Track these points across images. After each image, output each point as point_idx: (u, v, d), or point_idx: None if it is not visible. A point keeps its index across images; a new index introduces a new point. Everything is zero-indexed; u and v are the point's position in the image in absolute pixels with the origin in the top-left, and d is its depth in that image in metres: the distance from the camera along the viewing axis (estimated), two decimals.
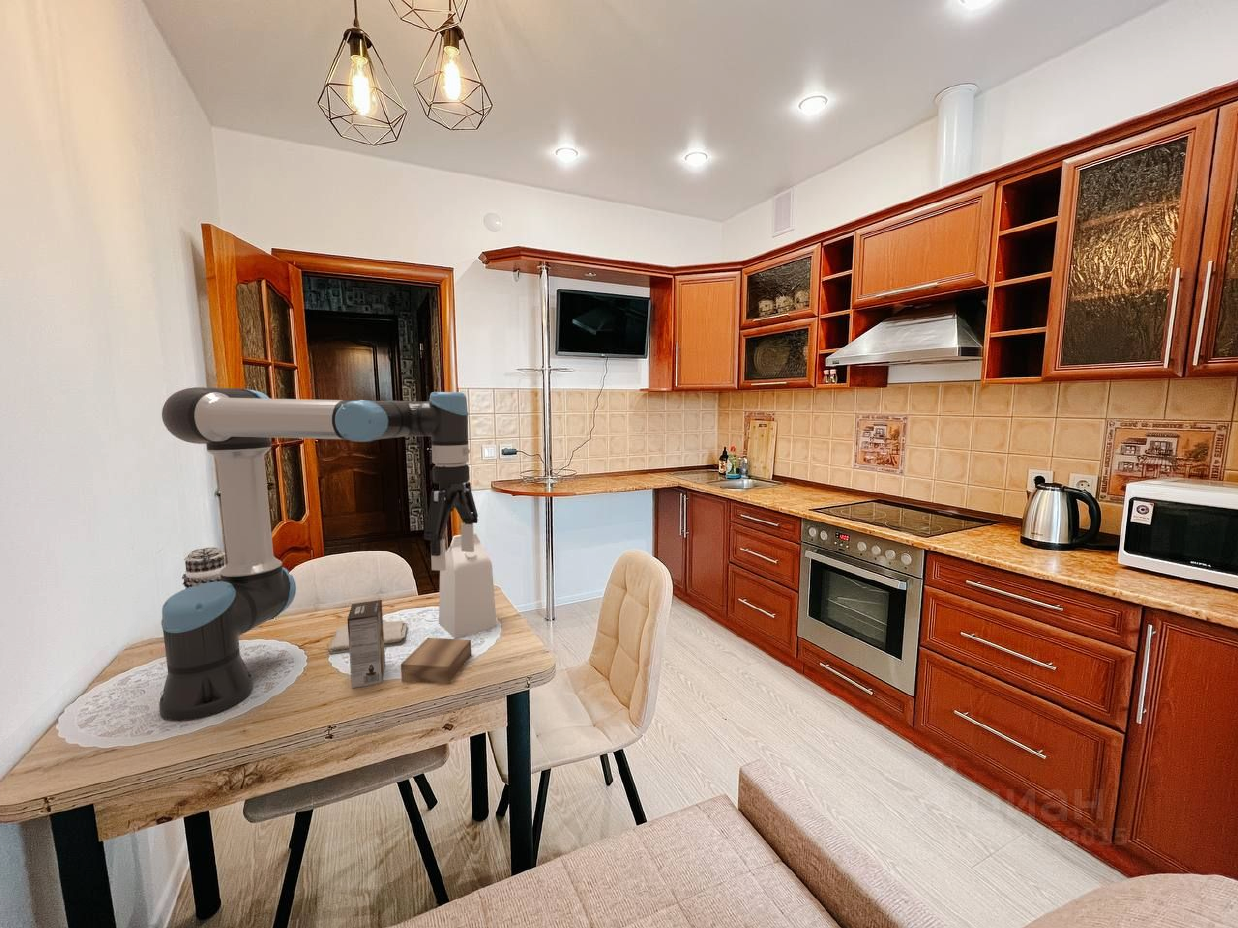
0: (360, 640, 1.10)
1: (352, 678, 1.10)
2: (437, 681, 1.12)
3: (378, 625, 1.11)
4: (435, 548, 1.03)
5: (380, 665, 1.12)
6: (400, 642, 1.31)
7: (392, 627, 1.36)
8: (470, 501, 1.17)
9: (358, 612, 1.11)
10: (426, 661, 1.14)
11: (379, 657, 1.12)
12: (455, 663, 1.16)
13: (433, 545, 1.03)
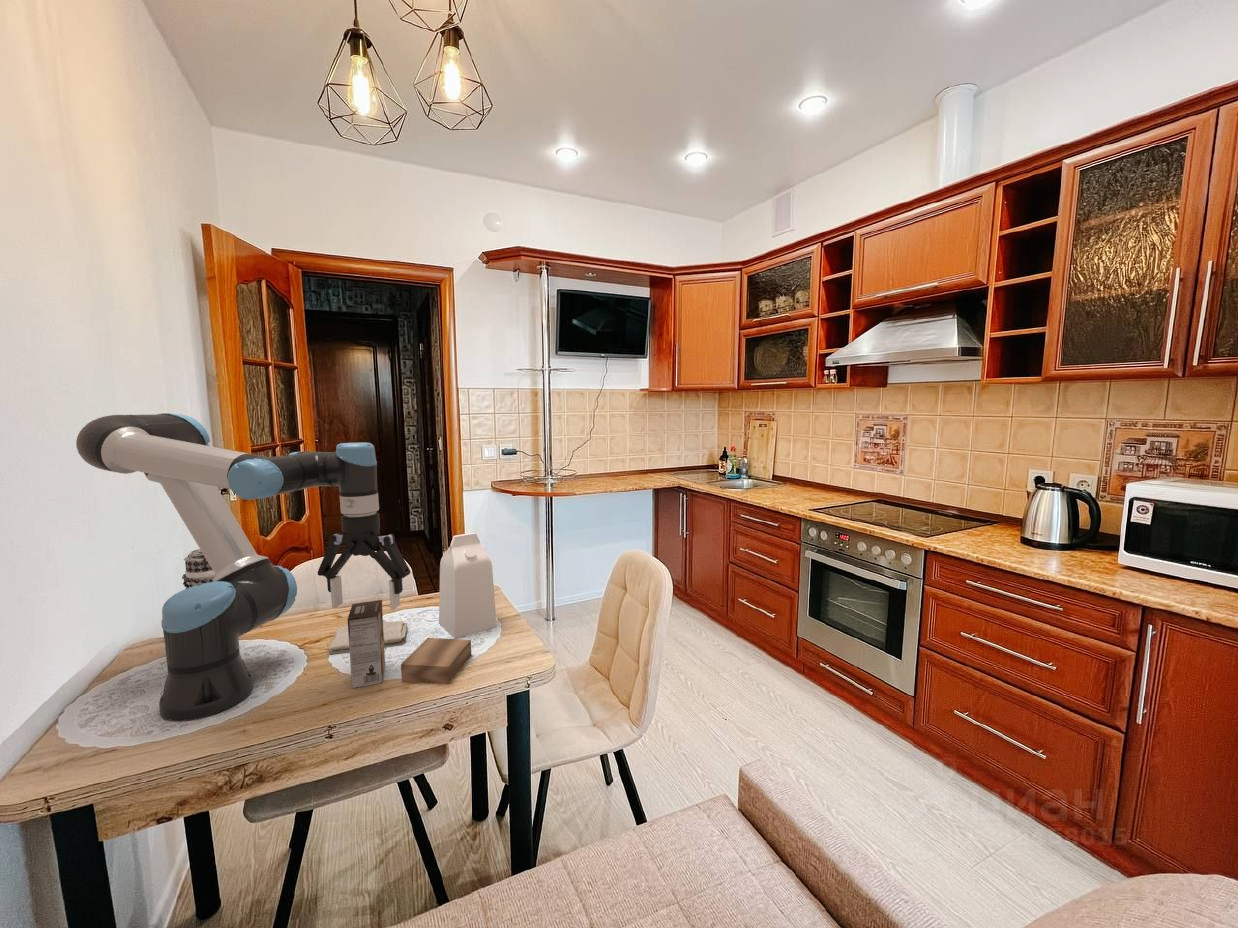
0: (360, 640, 1.10)
1: (352, 678, 1.10)
2: (437, 681, 1.12)
3: (378, 625, 1.11)
4: None
5: (380, 665, 1.12)
6: (400, 642, 1.31)
7: (392, 627, 1.36)
8: None
9: (358, 612, 1.11)
10: (426, 661, 1.14)
11: (379, 657, 1.12)
12: (455, 663, 1.16)
13: None
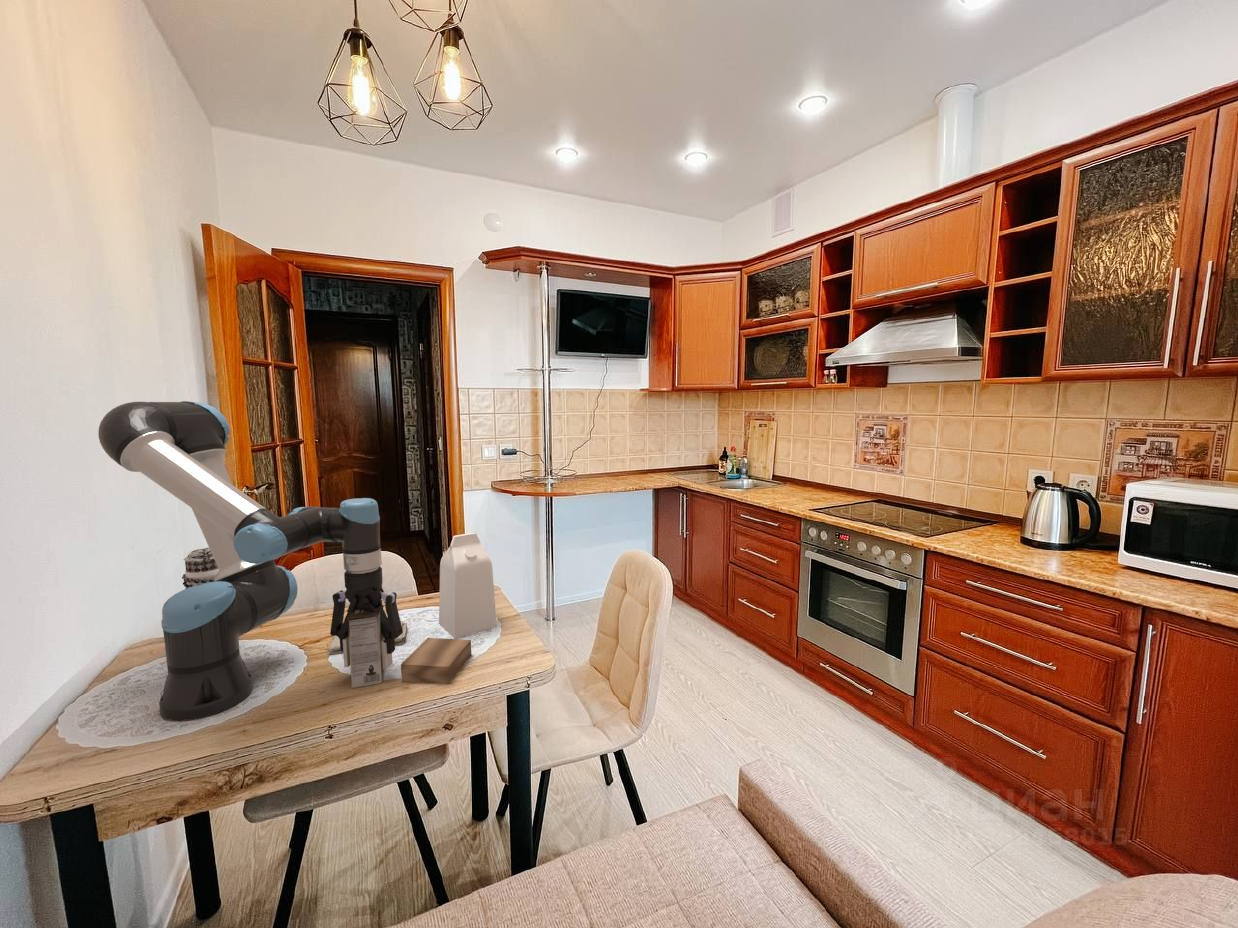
0: (360, 640, 1.10)
1: (352, 678, 1.10)
2: (437, 681, 1.12)
3: (378, 625, 1.11)
4: None
5: (380, 665, 1.12)
6: (400, 642, 1.31)
7: None
8: None
9: (358, 612, 1.11)
10: (426, 661, 1.14)
11: (379, 657, 1.12)
12: (455, 663, 1.16)
13: None
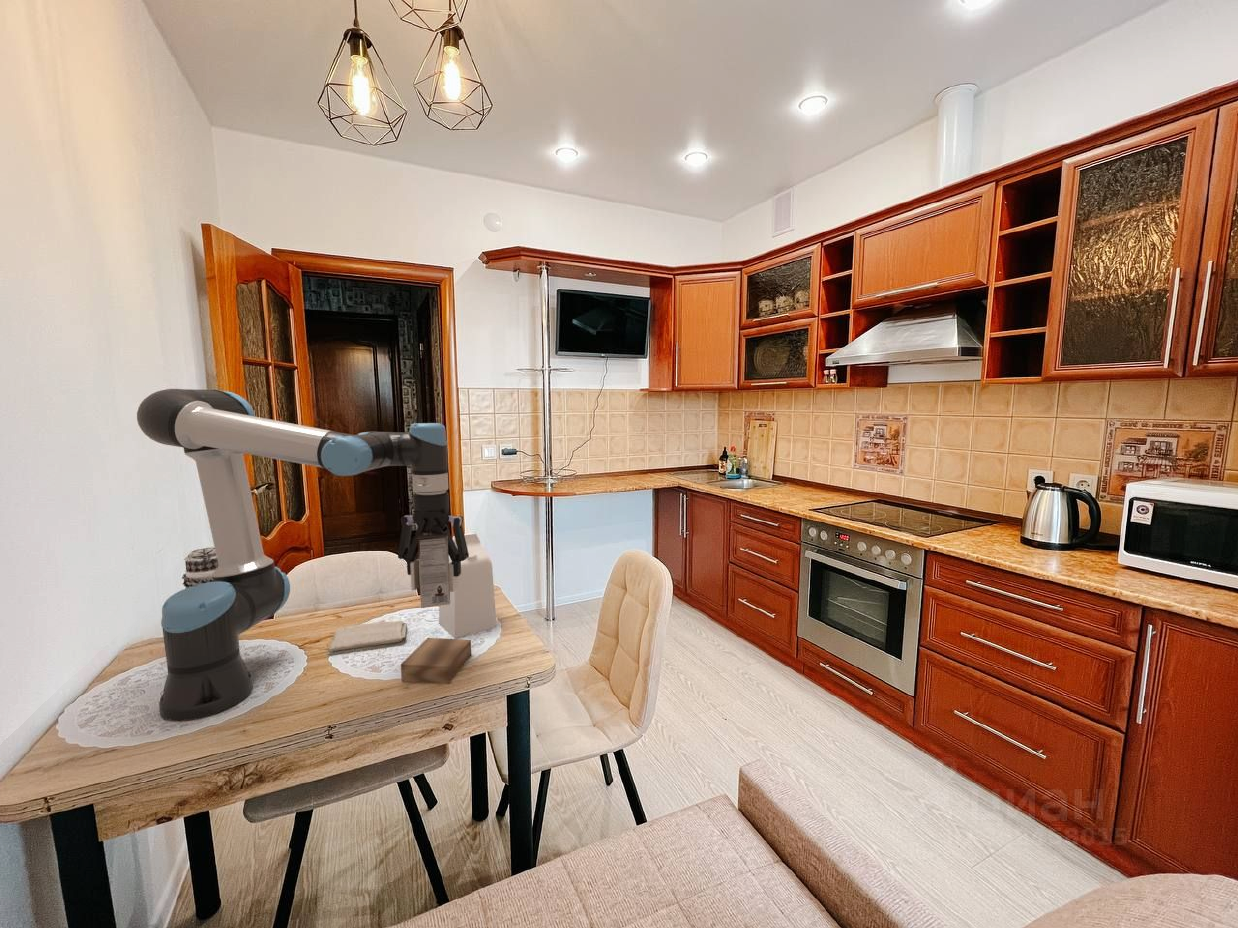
0: (429, 560, 1.11)
1: (421, 598, 1.12)
2: (437, 681, 1.12)
3: (446, 546, 1.12)
4: None
5: (448, 586, 1.14)
6: (400, 642, 1.31)
7: (392, 627, 1.36)
8: None
9: (426, 534, 1.13)
10: (426, 661, 1.14)
11: (447, 578, 1.13)
12: (455, 663, 1.16)
13: None
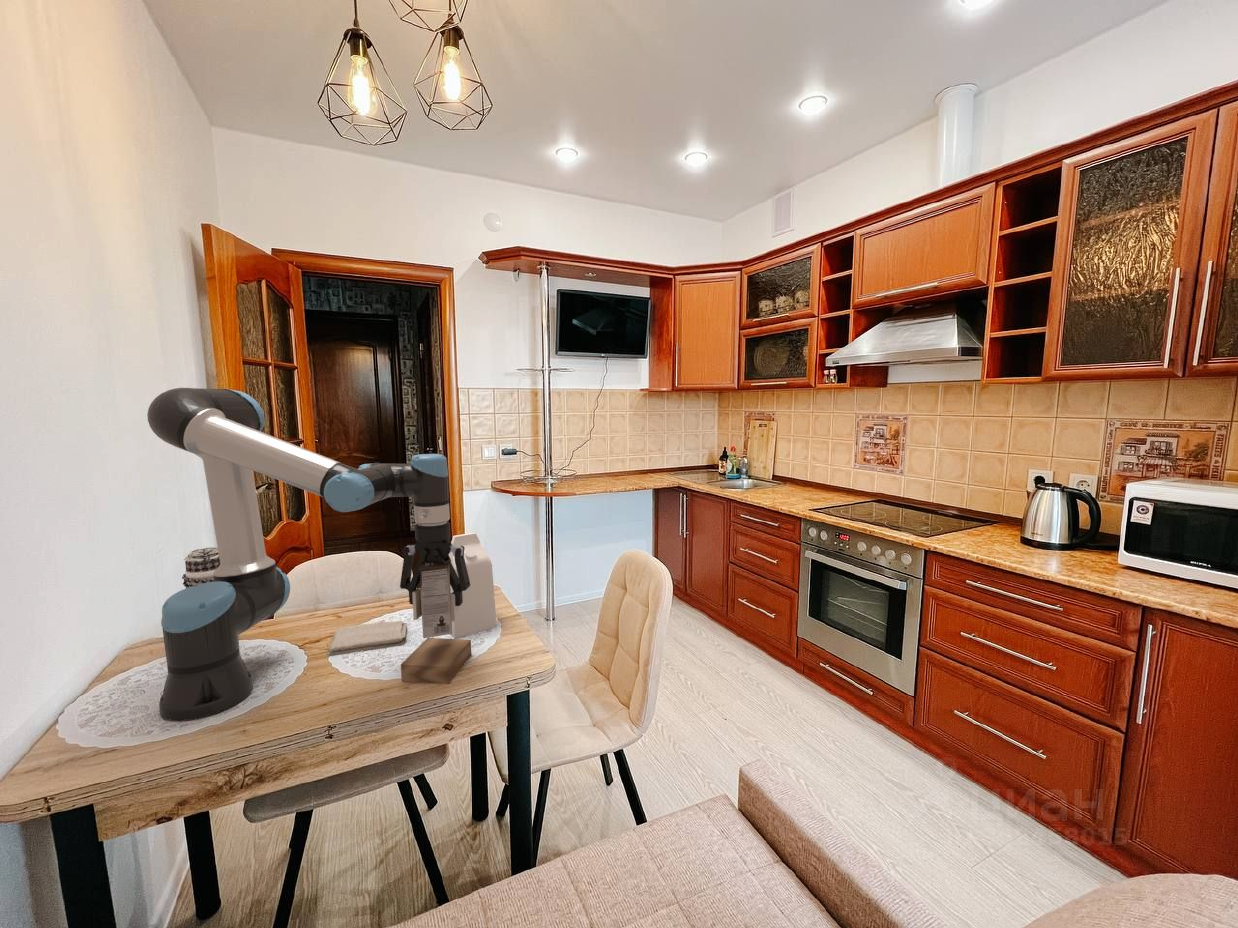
0: (431, 591, 1.12)
1: (423, 628, 1.13)
2: (437, 681, 1.12)
3: (448, 577, 1.13)
4: None
5: (450, 616, 1.15)
6: (401, 642, 1.31)
7: (392, 627, 1.36)
8: (457, 568, 1.15)
9: (428, 564, 1.14)
10: (426, 661, 1.14)
11: (449, 608, 1.14)
12: (455, 663, 1.16)
13: None
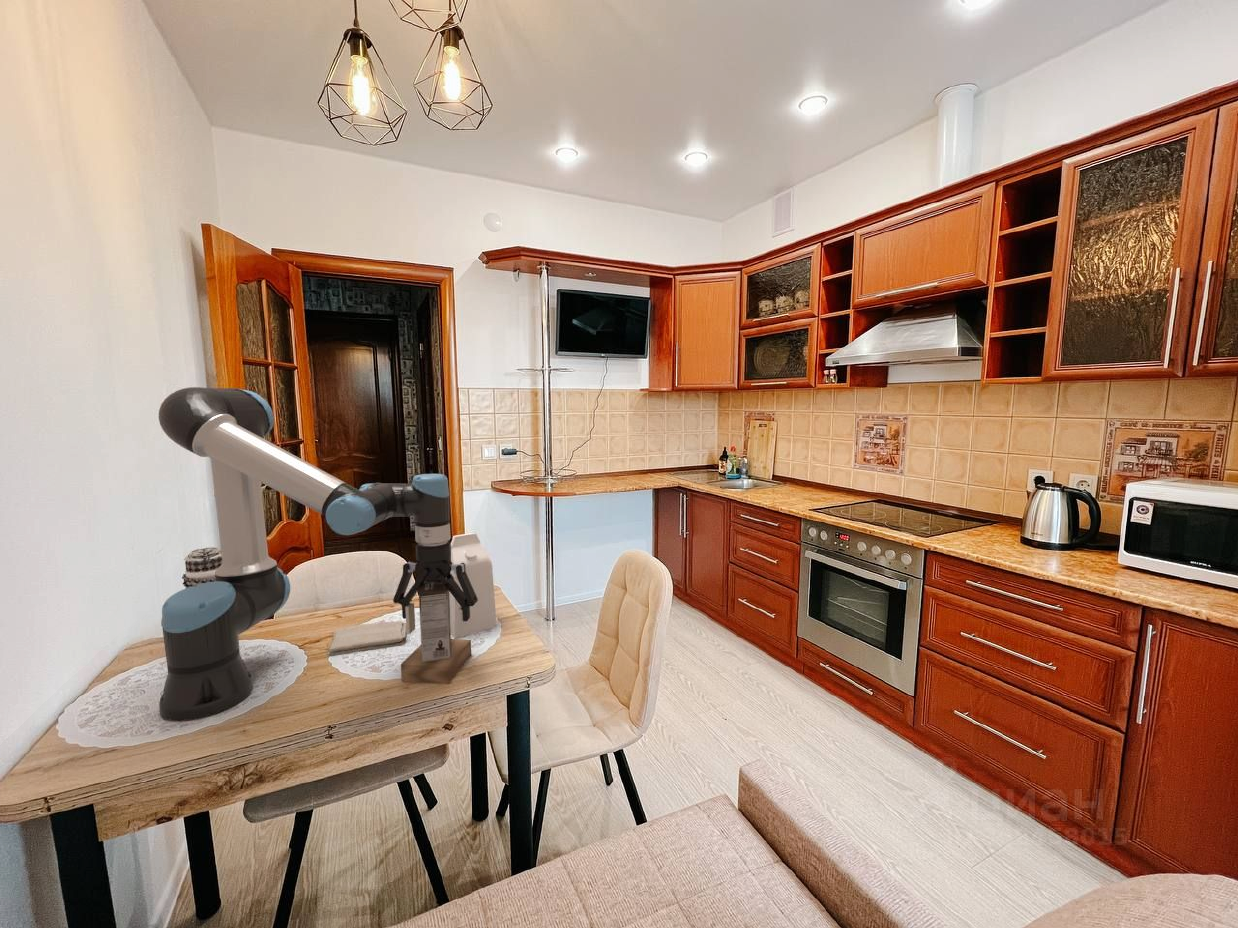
0: (430, 616, 1.13)
1: (422, 652, 1.13)
2: (437, 681, 1.12)
3: (447, 601, 1.14)
4: None
5: (448, 641, 1.15)
6: (401, 642, 1.31)
7: (391, 627, 1.36)
8: None
9: (428, 588, 1.15)
10: None
11: (448, 633, 1.15)
12: (455, 663, 1.16)
13: None
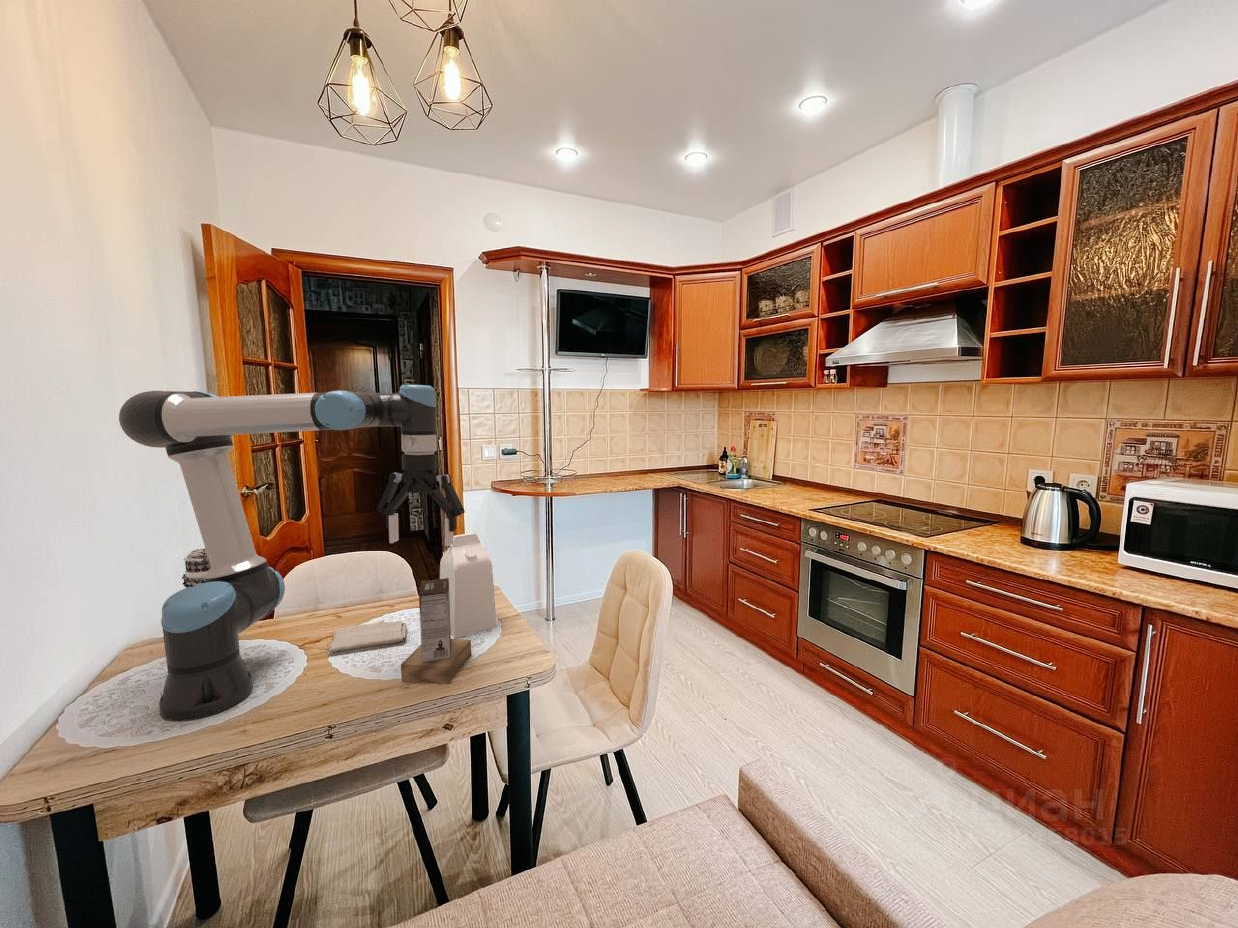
0: (430, 616, 1.13)
1: (422, 652, 1.13)
2: (437, 681, 1.12)
3: (447, 601, 1.14)
4: None
5: (448, 641, 1.15)
6: (401, 642, 1.31)
7: (391, 627, 1.36)
8: None
9: (428, 588, 1.15)
10: None
11: (448, 633, 1.15)
12: (455, 663, 1.16)
13: None
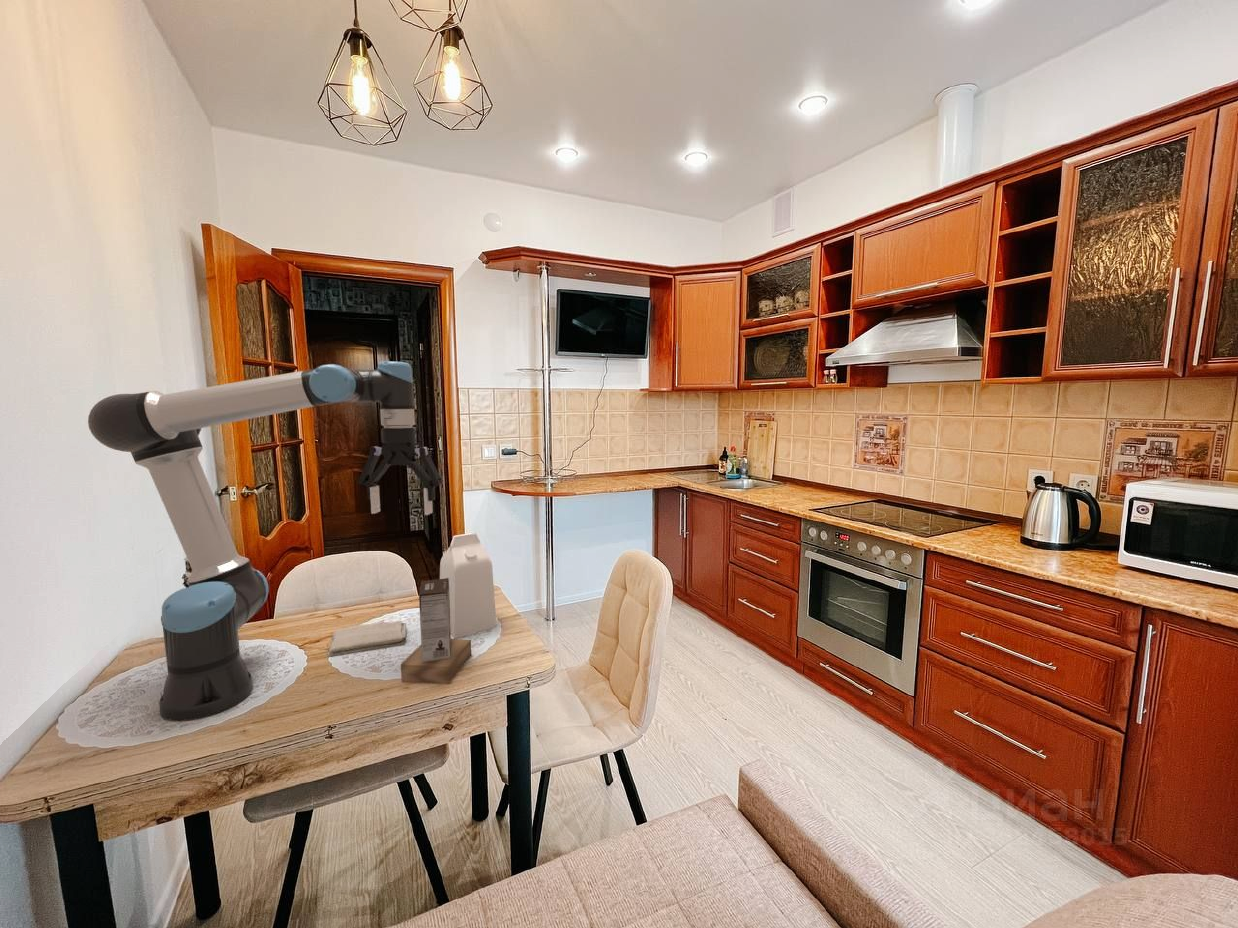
0: (430, 616, 1.13)
1: (422, 652, 1.13)
2: (437, 681, 1.12)
3: (447, 601, 1.14)
4: None
5: (448, 641, 1.15)
6: (401, 642, 1.31)
7: (391, 627, 1.36)
8: None
9: (428, 588, 1.15)
10: None
11: (448, 633, 1.15)
12: (455, 663, 1.16)
13: None
